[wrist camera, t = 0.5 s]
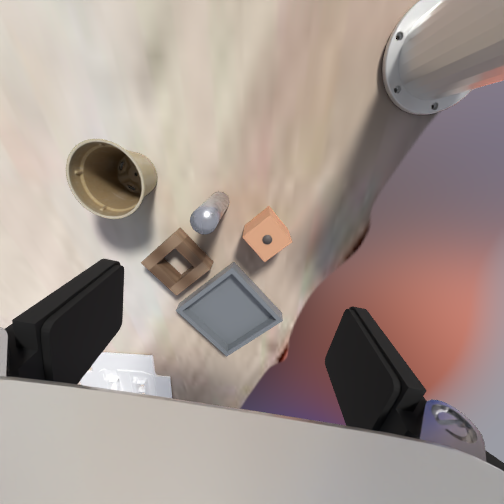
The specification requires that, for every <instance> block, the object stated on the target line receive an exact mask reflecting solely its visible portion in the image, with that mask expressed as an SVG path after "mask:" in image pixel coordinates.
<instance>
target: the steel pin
mask: <svg viewBox="0 0 504 504" xmlns="http://www.w3.org/2000/svg"><path fill="white" fill-rule="evenodd" d="M228 206H229V198H228V196H227V195H226V194H225V193H224V192H215V193H214V194H213V195H211V196H210V197H209V198H208V199H207V200H206V201H205V202H204V203H203V204H202V205H201V206H199V207H198V208H197V209H196V210H195V211H194V212H193V213H192V215H191V217H190V223H191V226H192V228H193V229H194V230H195V231H196V232H198V233H200V234H209V233H211V232H212V231H214V229H215V228H216V226H217V224H218V223H219V221H220V219H221V217H222V216H223V214H224V212H225V211H226V209H227V207H228Z"/></svg>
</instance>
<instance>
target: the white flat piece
mask: <svg viewBox="0 0 504 504" xmlns="http://www.w3.org/2000/svg"><path fill="white" fill-rule="evenodd" d="M170 377H171V376H159V375H157V374H156V373H155V367H154V360H153V354H152V355H138V354H124V353H109V352H102V353H101V354H100V355H99V357H98V358H97V359H96V361H95V362H94V363H93V365H92V370H91V371H87V372H86V374H85V375H84V376H83V378H82V379H81V380H80V382H81V385H85V386H92V387H99V388H106V389H112V390H119V391H126V392H133V393H139V394H142V393H145V394H146V395H153V396H160V397H166V398H172V391H171V381H170ZM118 379H119V380H118ZM141 385H144V386H141Z"/></svg>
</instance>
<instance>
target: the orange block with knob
mask: <svg viewBox="0 0 504 504" xmlns="http://www.w3.org/2000/svg"><path fill="white" fill-rule="evenodd" d="M243 238H244V240H245V241H246V242H247V243H248V244H249V245H250V246H251V247H252V249H253V250H254V251H255V252H256V253H257V254H258V255H259V256H260V258H261V259H262V260H263V261H264V262H266V261H267V260H268V259H270V258H271V257H272V256H274V255H275V254H277V253H278V252H279V251H281V250H282V249H283V248H285V247H286V246H287V245H289V244H290V243H292V239H291V236H290V233H289V230H288V229H287V227H286V226H285V225H284V224H283V222H282V221H281V220H280V219H279V218H278V216H277V215H276V214H275V213H274V211H273V210H272V209H271V208H270V206H268V207H267V208H266V209H265V210H263V211H262V212H261V213H260V214H258V215H257V216H256V217H255V218H253V219H252V220H251V221H250V222H248V223H247V224H246V225H245V227H244V232H243Z"/></svg>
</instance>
